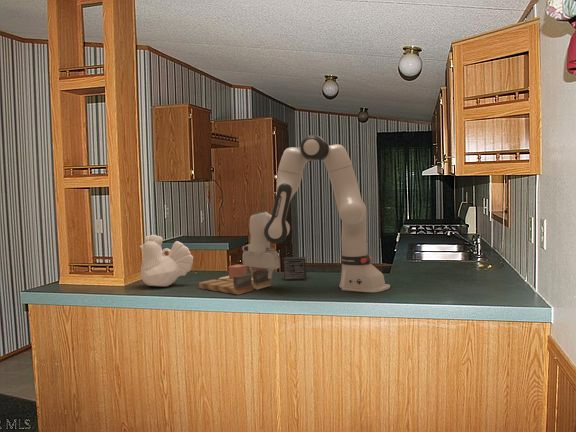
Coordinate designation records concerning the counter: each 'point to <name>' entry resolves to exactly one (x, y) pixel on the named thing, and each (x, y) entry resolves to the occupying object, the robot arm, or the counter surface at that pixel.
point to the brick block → (237, 270)
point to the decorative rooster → (163, 262)
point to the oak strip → (230, 285)
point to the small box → (294, 268)
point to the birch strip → (255, 286)
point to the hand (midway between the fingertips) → (261, 277)
